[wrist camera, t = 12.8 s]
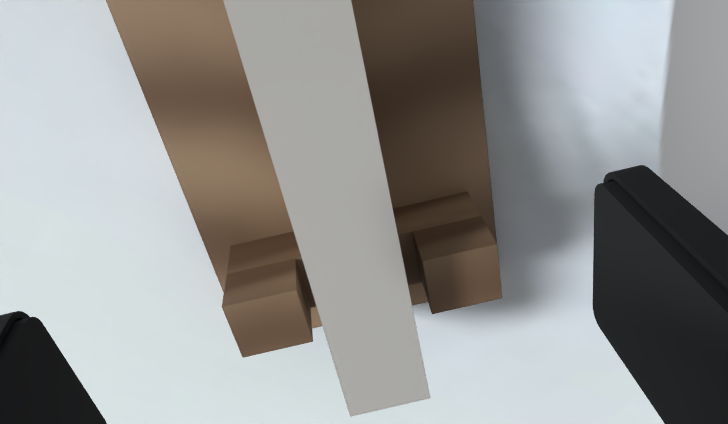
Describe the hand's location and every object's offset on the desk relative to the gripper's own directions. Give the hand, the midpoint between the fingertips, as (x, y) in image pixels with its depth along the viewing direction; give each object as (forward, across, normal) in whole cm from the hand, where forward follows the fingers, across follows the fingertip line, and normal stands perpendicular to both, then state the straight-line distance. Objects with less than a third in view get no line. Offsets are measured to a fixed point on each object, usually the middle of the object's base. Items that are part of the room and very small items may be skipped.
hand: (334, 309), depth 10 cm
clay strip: (+11, 0, +1) cm, 11 cm away
